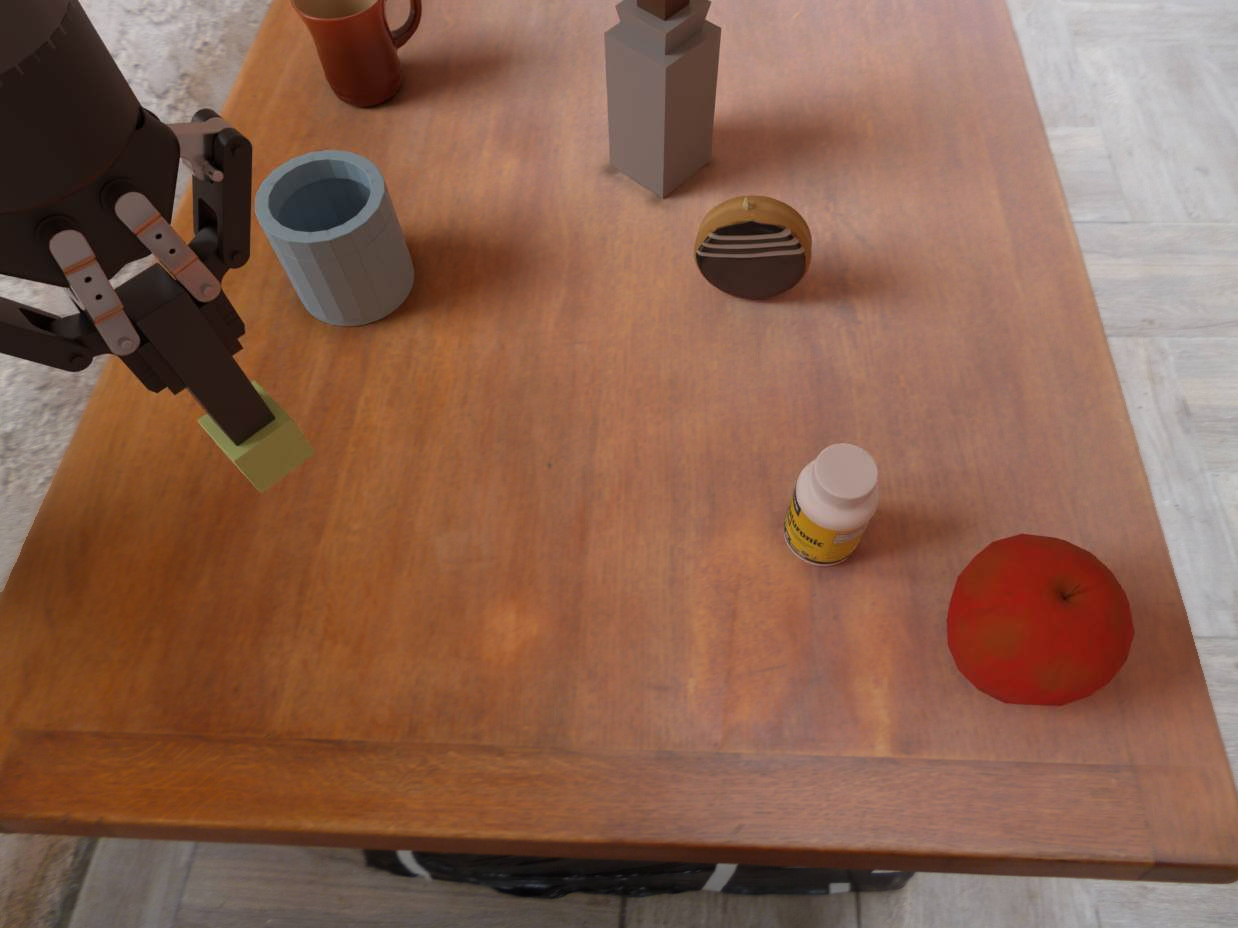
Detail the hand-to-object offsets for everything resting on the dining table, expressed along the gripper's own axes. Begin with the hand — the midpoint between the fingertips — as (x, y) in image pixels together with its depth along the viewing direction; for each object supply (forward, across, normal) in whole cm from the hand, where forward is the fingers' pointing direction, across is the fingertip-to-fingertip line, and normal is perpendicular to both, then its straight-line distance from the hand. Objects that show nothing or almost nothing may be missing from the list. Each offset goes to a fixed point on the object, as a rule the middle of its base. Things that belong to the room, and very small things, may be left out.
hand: (198, 361), depth 40 cm
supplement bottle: (+25, -25, +22) cm, 42 cm away
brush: (+9, 0, 0) cm, 9 cm away
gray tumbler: (+25, -16, -22) cm, 37 cm away
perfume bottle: (+25, -45, -12) cm, 53 cm away
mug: (+25, -34, -41) cm, 59 cm away
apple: (+25, -27, +37) cm, 52 cm away
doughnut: (+25, -39, +4) cm, 47 cm away
